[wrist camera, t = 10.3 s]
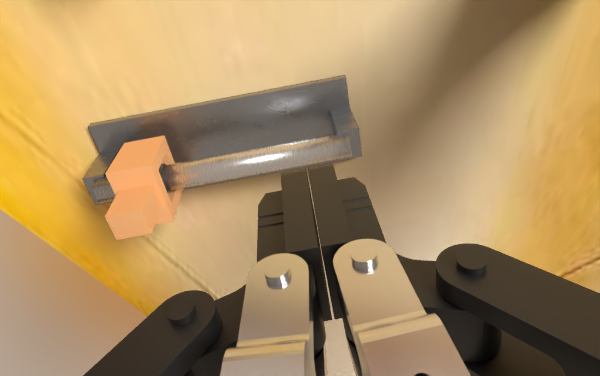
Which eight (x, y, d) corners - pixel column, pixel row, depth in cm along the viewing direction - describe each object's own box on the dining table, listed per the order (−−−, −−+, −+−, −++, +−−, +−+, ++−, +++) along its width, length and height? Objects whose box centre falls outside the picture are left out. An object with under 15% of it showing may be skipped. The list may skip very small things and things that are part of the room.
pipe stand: (344, 75, 44) (357, 101, 38) (354, 154, 49) (367, 189, 42) (90, 123, 45) (62, 157, 38) (124, 196, 49) (103, 237, 43)
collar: (164, 135, 43) (139, 190, 34) (183, 187, 46) (165, 249, 37) (124, 142, 43) (89, 199, 34) (146, 194, 46) (119, 257, 37)
